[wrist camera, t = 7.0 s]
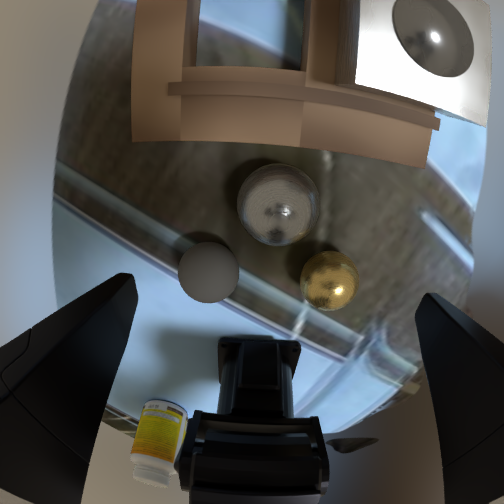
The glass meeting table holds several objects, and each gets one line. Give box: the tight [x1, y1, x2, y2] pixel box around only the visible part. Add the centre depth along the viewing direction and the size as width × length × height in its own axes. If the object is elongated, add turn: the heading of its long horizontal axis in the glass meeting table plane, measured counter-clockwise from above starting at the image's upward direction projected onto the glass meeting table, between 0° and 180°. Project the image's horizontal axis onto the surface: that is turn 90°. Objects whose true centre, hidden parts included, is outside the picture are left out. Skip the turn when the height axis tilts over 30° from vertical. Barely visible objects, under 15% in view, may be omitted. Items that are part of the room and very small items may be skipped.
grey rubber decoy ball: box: [178, 242, 239, 303], centre depth 16 cm, size 4×4×4 cm
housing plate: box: [131, 0, 441, 169], centre depth 9 cm, size 12×14×3 cm
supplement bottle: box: [130, 400, 188, 488], centre depth 25 cm, size 6×6×10 cm
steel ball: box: [237, 163, 320, 246], centre depth 14 cm, size 4×4×4 cm
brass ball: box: [300, 251, 359, 311], centre depth 16 cm, size 4×4×4 cm
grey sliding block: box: [334, 0, 492, 127], centre depth 7 cm, size 6×6×3 cm
